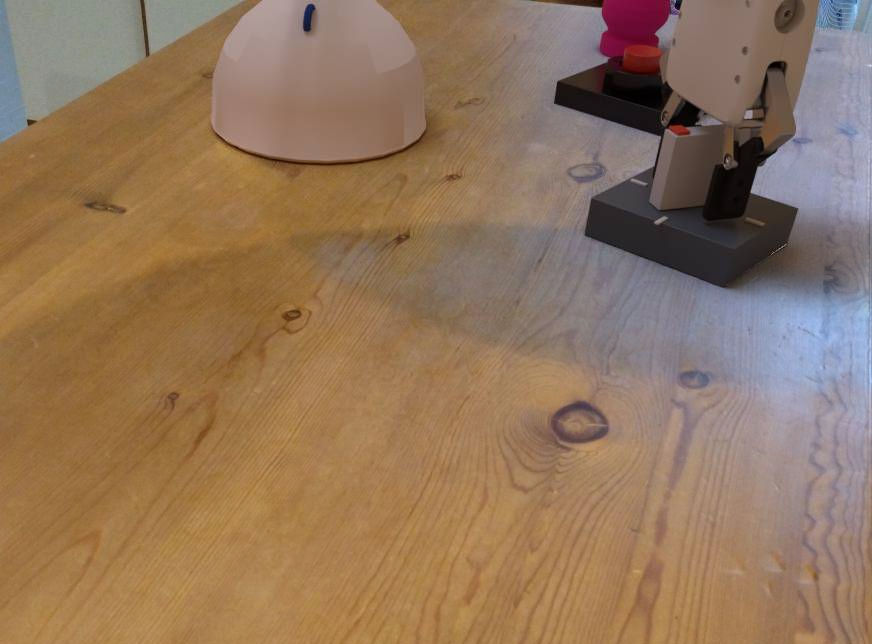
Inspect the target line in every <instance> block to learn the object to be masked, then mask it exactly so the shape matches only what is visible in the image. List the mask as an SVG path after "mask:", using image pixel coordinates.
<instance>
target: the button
mask: <svg viewBox="0 0 872 644" xmlns="http://www.w3.org/2000/svg"><path fill="white" fill-rule="evenodd" d="M663 54H664V51H663V50H662V49H660V48H656V47H652V46H645V45H633V46H629V47H627V48H626V49H625V52H624V57H623V62H622V67H623V68H624V69H628V70H631V71H636V72H647V73H648V72H658V71H660V64H659V61H660V57H661V56H662V55H663Z"/></svg>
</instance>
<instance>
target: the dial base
mask: <svg viewBox="0 0 872 644" xmlns="http://www.w3.org/2000/svg"><path fill="white" fill-rule="evenodd" d="M654 166H655V165H654ZM654 166H652V167H650V168H647V169H645V170H643V171H641V172H640V173H638V174H635V175H633V176H632V177H630V178H627V179H626V180H624V181H622V182H620V183H618V184H616V185H613V186H612V187H610V188H608V189H606V190H604V191H602V192H599V193H597V194H596V195H594V196H592V197H590V203H589V208H588V213H587V218H586V224H585V228H584V236H587V237H590V238H593V239H595V240H598V241H600V242H603V243H606V244H607V245H608V244H609V245H612V246H614V247H616V248H619V249H621V250H624V251H627V252H629V253H632V254H635V255H638V256H640V257H643V258H645V259H648V260H650V261H654V262H656V263H658V264H661V265H664V266H666V267H669V268H673V269H674V270H677V271H680V272H682V273H685V274H688V275H690V276H693V277H696V278H698V279H701V280H703V281H706V282H709V283H711V284H714V283H715V284H714V285H716V286H719V285H720V286H719V287H722V286H723V287H722V288H725V287H727V286H728V285H730V284H731V283H732V282H734V281H735V280H737V279H738V278H740V277H741V276H743V275H744V274H746V273H747V272H749V271H750V270H752V269H753V268H755V267H756V266H758V265H759V264H761V263H762V262H764V261H765V260H767V259H768V258H769V257H768V256H770V255H771V254H772V253H773V252H775V251H776V250H778V249H779V248H781V247H782V246H784V245H785V244H787V245H788V243H789V240H790V236H791V233H792V230H793V228H794V224H795V221H796V218H797V215H798V212H799V208H798V207H796V206H793V205H790V204H787V203H784V202H780V201H778V200H775V199H771V198H768V197H765V196H762V195H759V194H756V193H753V192H750V196H749V199H748V203H747V206H746V209H745V213H744V215H743V216H742V217H740V218H733V219H724V220H715V221H707V220H706V219H704V218H703V216H702V212H703V208H704V206H695V207H686V208H677V209H667V210H658V209H657V208H656V207H654V206H653V205H652V204H651V203H649V199H650V195H651V190H652V186H653V181H654V178H653V177H652V174H653V170H654ZM771 256H772V255H771ZM771 256H770V257H771ZM767 257H768V258H767ZM766 258H767V259H766ZM764 259H765V260H764ZM763 260H764V261H763ZM761 261H762V262H761ZM760 262H761V263H760ZM758 263H759V264H758ZM757 264H758V265H757ZM755 265H756V266H755ZM754 266H755V267H754ZM752 267H753V268H752ZM751 268H752V269H751ZM749 269H750V270H749ZM748 270H749V271H748ZM746 271H747V272H746ZM745 272H746V273H745ZM743 273H744V274H743ZM742 274H743V275H742ZM739 276H740V277H739ZM737 277H738V278H737ZM736 278H737V279H736ZM733 280H734V281H733ZM730 282H731V283H730ZM727 284H728V285H727ZM724 286H725V287H724Z"/></svg>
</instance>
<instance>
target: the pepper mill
mask: <svg viewBox="0 0 872 644" xmlns="http://www.w3.org/2000/svg"><path fill="white" fill-rule="evenodd" d="M671 4H672V3H671V0H603V2H602V7H601V13H600V14H601V19H602V20H603V22H604V24H605V26H606V27H607V29H606V30H605V31H603V32H602V33H601V38H600V42H599V46H598V47H599V52H600V54H602V55H603V56H605V57H608V58H609V59H610V58H613V57H615V56H622V55H624V52H625V49H626V48H627V47H629V46H633V45H645V46H652V47H656V48H658V47H659V43H660V38H659V36H658V35H657V34H656V33H657V32H658V31H659V30H660V29H661V28H663V27H664V26H665V24H666V23H667V22H668V20H669V18H670V12H671ZM658 49H659V48H658Z"/></svg>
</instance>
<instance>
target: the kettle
mask: <svg viewBox="0 0 872 644" xmlns="http://www.w3.org/2000/svg"><path fill="white" fill-rule="evenodd" d="M211 87H212V88H211V89H212V90H211V91H212V92H211V96H212V97H211V116H210V118H209V121H210V123H211V126H212V129H213V131H214V132H215V134H217V135H218V136H220V137H221V138H222V139H223V140H224V141H225V142H226V143H228V144H229V145H231V146H233V147H235V146H236V147H235V148H237V147H238V148H237V149H239V150H241V151H244V152H246V153H248V154H253V155H257V156H260V157H264V158H267V159H273V160H279V161H286V162H291V163H302V164H303V163H305V164H342V163H357V162H361V161H368V160H372V159H379V158H383V157H386V156H389V155H391V154H394V153H397V152H400V151H403V150H404V149H406V148H408V147H409V146H411V145H413V144H414V143H415V142H417V141H418V140H419V139H420V138H421V136H422V135H423V134H424V132H425V130H426V129H427V120H426V113H425V112H426V101H425V100H426V99H425V98H426V97H425V96H426V93H425V74H424V71H423V67H422V63H421V60H420V58H419V54H418V51H417V47H416V45H415V44H414V43H413V41H412V40H411V38H410V37H409V35H408V34H407V32H406V31H405V29H404V28H403V26H402V24H401V23H400V22H399V21H398V19H396V18H395V16H394V15H392V14H391V13H390V12H389V11H388V10H387V9H386V8H384V7H383V6H382V5H381V4H380V3H379V2H378V1H377V0H261V1H260V2H258V3H257V4H256V5H254V7H252V8H251V9H250V10H249V11H247V12H246V13H245V14H243V16H242V17H241V18H240V19H239V21H238V22H237V24H236V25H235V26H234V27H233V29H232V30H231V32H230V33H229V34H228V36H227V37H226V38H225V40H224V43H223V46H222V49H221V51H220V54H219V57H218V60H217V63H216V65H215V68H214V72H213V74H212V86H211Z"/></svg>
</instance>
